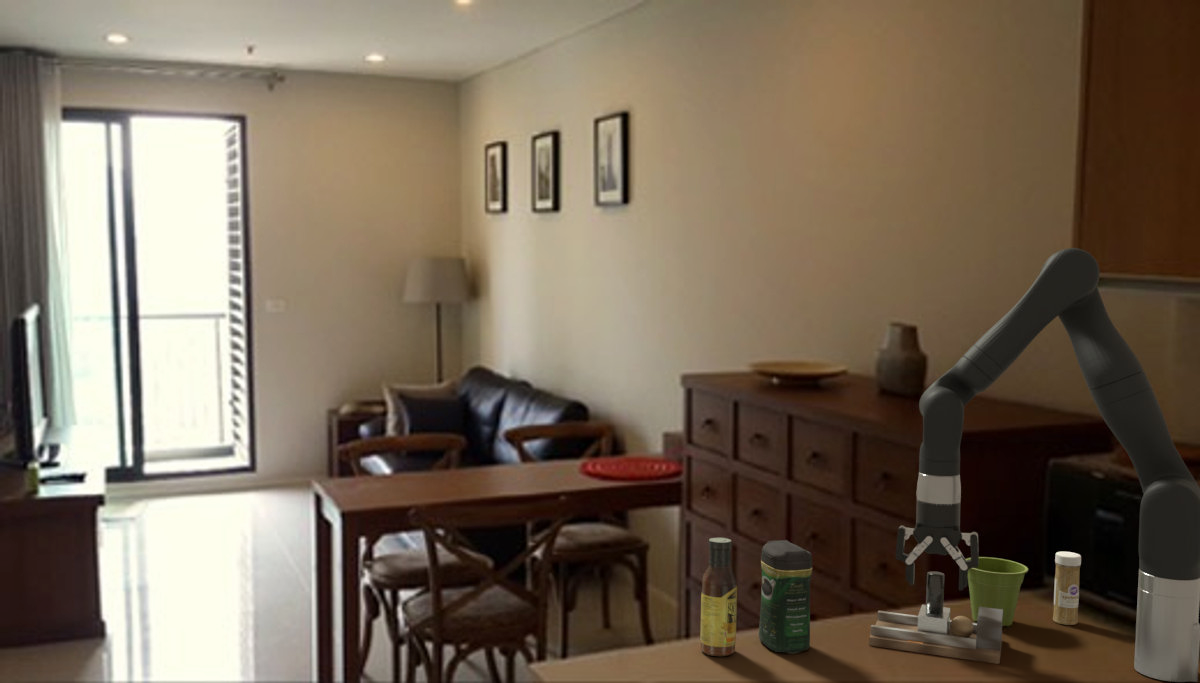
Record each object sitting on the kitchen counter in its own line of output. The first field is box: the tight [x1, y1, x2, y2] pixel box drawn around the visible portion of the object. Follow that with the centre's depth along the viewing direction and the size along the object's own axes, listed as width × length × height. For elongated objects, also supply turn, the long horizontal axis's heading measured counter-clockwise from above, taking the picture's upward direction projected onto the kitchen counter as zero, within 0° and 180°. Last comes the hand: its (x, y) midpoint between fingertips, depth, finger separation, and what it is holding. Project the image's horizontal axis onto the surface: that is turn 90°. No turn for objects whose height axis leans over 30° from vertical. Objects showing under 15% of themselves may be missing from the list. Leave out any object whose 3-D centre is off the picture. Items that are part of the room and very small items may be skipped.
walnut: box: [950, 615, 974, 638], centre depth 194 cm, size 4×4×4 cm
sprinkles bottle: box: [1052, 550, 1082, 626], centre depth 208 cm, size 5×5×14 cm
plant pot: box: [965, 556, 1029, 627], centre depth 207 cm, size 12×12×11 cm
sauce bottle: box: [699, 537, 738, 657], centre depth 189 cm, size 7×6×20 cm
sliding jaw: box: [917, 571, 951, 635], centre depth 195 cm, size 5×7×11 cm
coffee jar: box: [758, 539, 813, 654], centre depth 192 cm, size 10×8×19 cm
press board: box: [868, 607, 1003, 665], centre depth 195 cm, size 22×13×6 cm, turn 68°
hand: (936, 586), depth 195 cm, fingers open, 8 cm apart
